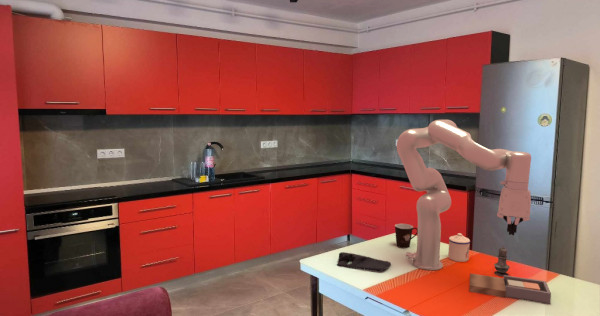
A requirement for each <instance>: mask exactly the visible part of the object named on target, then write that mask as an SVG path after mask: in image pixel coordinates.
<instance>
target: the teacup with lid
mask: <svg viewBox="0 0 600 316" xmlns="http://www.w3.org/2000/svg"><path fill="white" fill-rule="evenodd" d="M470 243H471V240H470V239H469V237H465V236H464V235H463V234H462V233H460V232H459V233H457V235H455V234H454V235H451V236H449V238H448V258H449V259H450V260H452V261H454V262H459V263H460V262H463V263H464V262H467V261H469V259H470V245H471V244H470Z"/></svg>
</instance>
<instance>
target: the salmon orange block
mask: <svg viewBox="0 0 600 316" xmlns="http://www.w3.org/2000/svg"><path fill="white" fill-rule="evenodd" d="M523 285H524V288H526V289H532V290H539V291H540V287H539V285H538V284H535V283H528V282H523Z"/></svg>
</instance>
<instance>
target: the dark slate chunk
mask: <svg viewBox="0 0 600 316" xmlns="http://www.w3.org/2000/svg"><path fill="white" fill-rule="evenodd" d="M336 265H337V266H338V267H345V268H349V269H358V270H359V269H360V270H365V271H371V272H383V271H385V270H386V269H388V268H390V267H391V266H392V263H391V261H388V260H382V259H376V258H372V257H370V256H366V255H362V254H356V253H352V252H346V251H345V252H344V251H343V252H339V254H338V259H337V263H336Z"/></svg>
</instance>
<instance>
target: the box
mask: <svg viewBox="0 0 600 316" xmlns="http://www.w3.org/2000/svg"><path fill="white" fill-rule="evenodd" d="M503 278H504V283H505V288H506V298H507V299H508V298H509V299H515V300H521V301H527V302H534V303H538V304H539V303H540V304H544V305H551V299H552V298H551V297H552V292H551V290H550V288H549V286H548V285H549V284H548V283H547V281H545V280H540V279H532V278H524V277H519V276H512V275H508V276H507V275H504V277H503ZM507 280H514V281H521V282H528V283H535V284H538V285H539V287H540V291H539V290H532V289H526V288H519V287H513V286H507Z"/></svg>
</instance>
